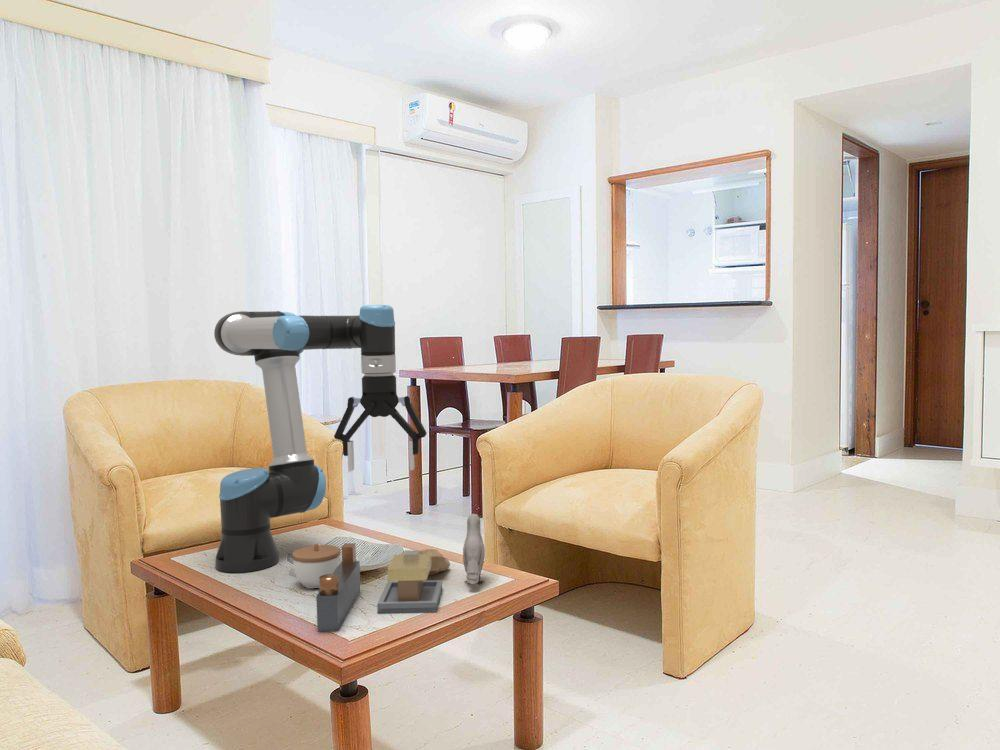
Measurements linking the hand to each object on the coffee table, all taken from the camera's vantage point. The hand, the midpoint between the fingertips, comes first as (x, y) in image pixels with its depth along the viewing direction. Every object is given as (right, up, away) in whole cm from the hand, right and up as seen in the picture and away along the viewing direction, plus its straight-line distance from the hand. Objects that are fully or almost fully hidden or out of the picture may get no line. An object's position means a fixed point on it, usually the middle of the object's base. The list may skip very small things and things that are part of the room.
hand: (381, 469), depth 167 cm
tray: (+8, -27, -8) cm, 29 cm away
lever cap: (+7, -21, -8) cm, 24 cm away
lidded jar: (-15, -27, +4) cm, 31 cm away
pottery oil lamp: (+11, -26, +9) cm, 30 cm away
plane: (-6, -27, -13) cm, 31 cm away
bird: (+21, -26, +3) cm, 33 cm away
